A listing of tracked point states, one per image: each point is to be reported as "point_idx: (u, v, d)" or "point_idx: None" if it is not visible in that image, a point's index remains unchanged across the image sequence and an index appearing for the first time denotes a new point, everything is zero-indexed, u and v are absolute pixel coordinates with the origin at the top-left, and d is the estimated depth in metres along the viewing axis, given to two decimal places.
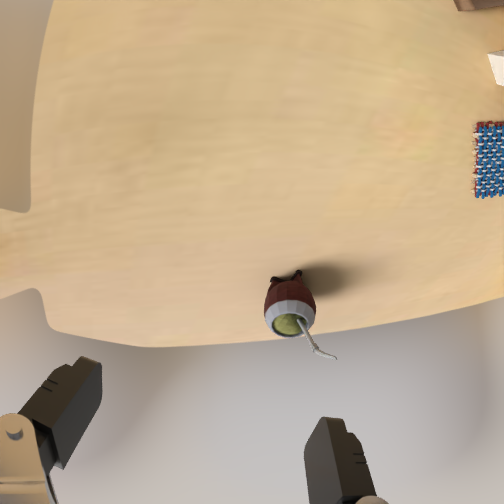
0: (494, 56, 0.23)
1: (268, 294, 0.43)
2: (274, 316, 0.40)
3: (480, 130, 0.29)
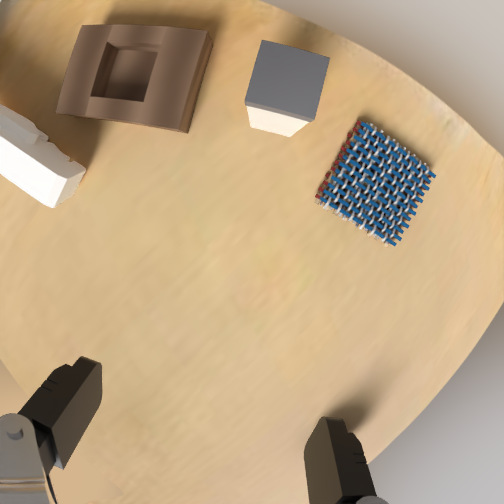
0: (252, 125, 0.29)
1: None
2: None
3: (323, 200, 0.31)
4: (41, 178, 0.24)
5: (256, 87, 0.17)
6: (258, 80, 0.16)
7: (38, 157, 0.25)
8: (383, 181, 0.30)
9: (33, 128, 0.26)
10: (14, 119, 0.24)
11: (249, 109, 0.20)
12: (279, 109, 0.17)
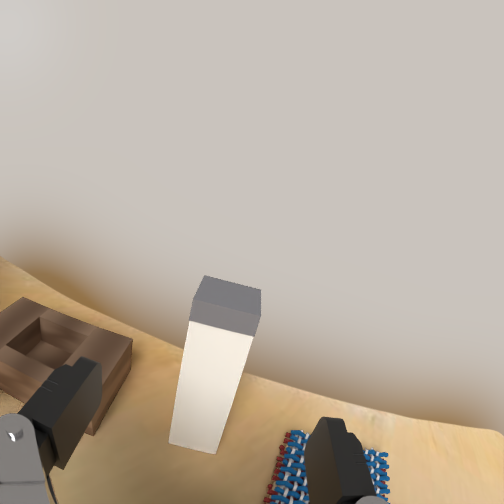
0: (172, 433, 0.22)
1: None
2: None
3: None
4: None
5: (203, 294, 0.20)
6: (204, 291, 0.20)
7: None
8: None
9: None
10: None
11: (188, 341, 0.20)
12: (226, 309, 0.19)
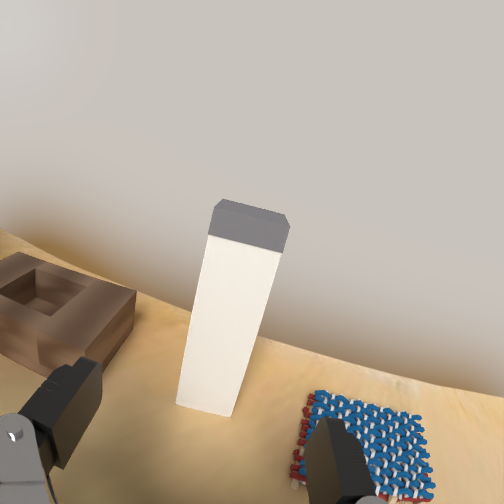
0: (180, 390, 0.20)
1: None
2: None
3: None
4: None
5: (224, 206, 0.18)
6: (225, 205, 0.18)
7: None
8: (371, 436, 0.19)
9: None
10: None
11: (205, 262, 0.18)
12: (251, 218, 0.17)
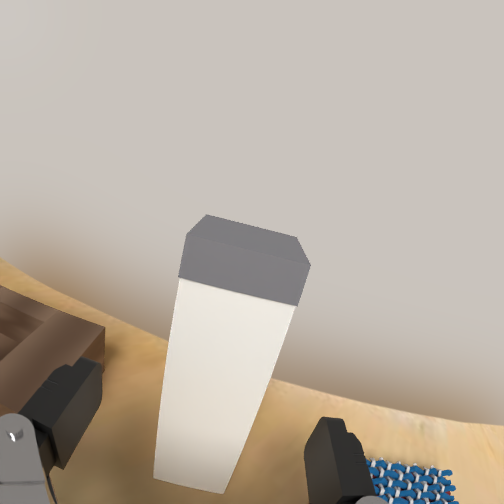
0: (157, 465, 0.13)
1: None
2: None
3: None
4: None
5: (204, 231, 0.11)
6: (207, 228, 0.12)
7: None
8: None
9: None
10: None
11: (176, 318, 0.11)
12: (247, 252, 0.10)
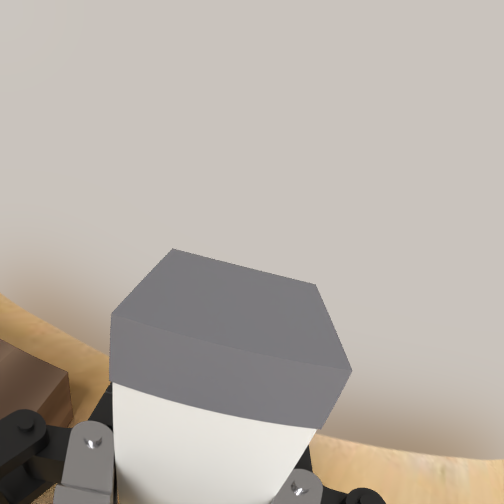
0: None
1: None
2: None
3: None
4: None
5: (153, 298, 0.06)
6: (160, 288, 0.06)
7: None
8: None
9: None
10: None
11: (119, 432, 0.06)
12: (231, 352, 0.05)
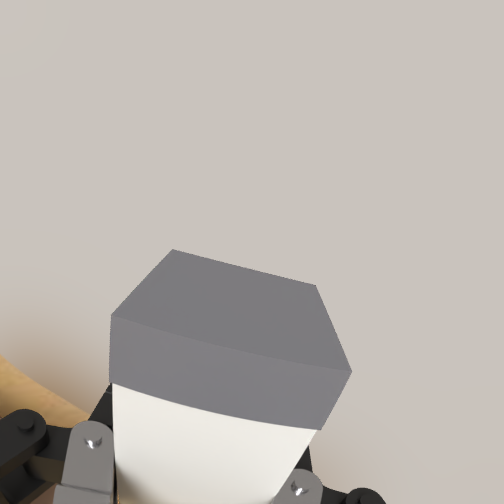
0: None
1: None
2: None
3: None
4: None
5: (153, 299, 0.06)
6: (160, 289, 0.06)
7: None
8: None
9: None
10: None
11: (119, 433, 0.06)
12: (230, 353, 0.05)
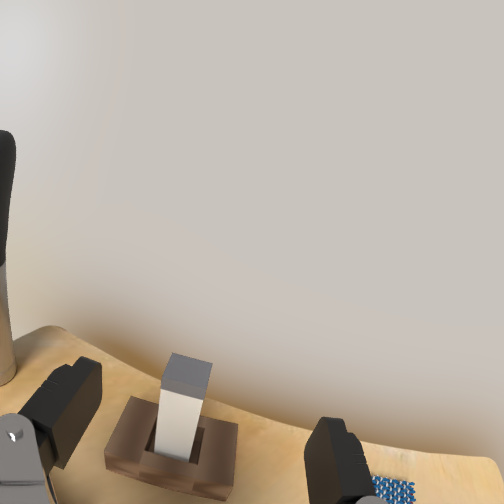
0: None
1: None
2: None
3: None
4: None
5: (169, 372, 0.27)
6: (170, 369, 0.28)
7: None
8: (384, 499, 0.29)
9: None
10: None
11: (161, 400, 0.27)
12: (183, 383, 0.26)
